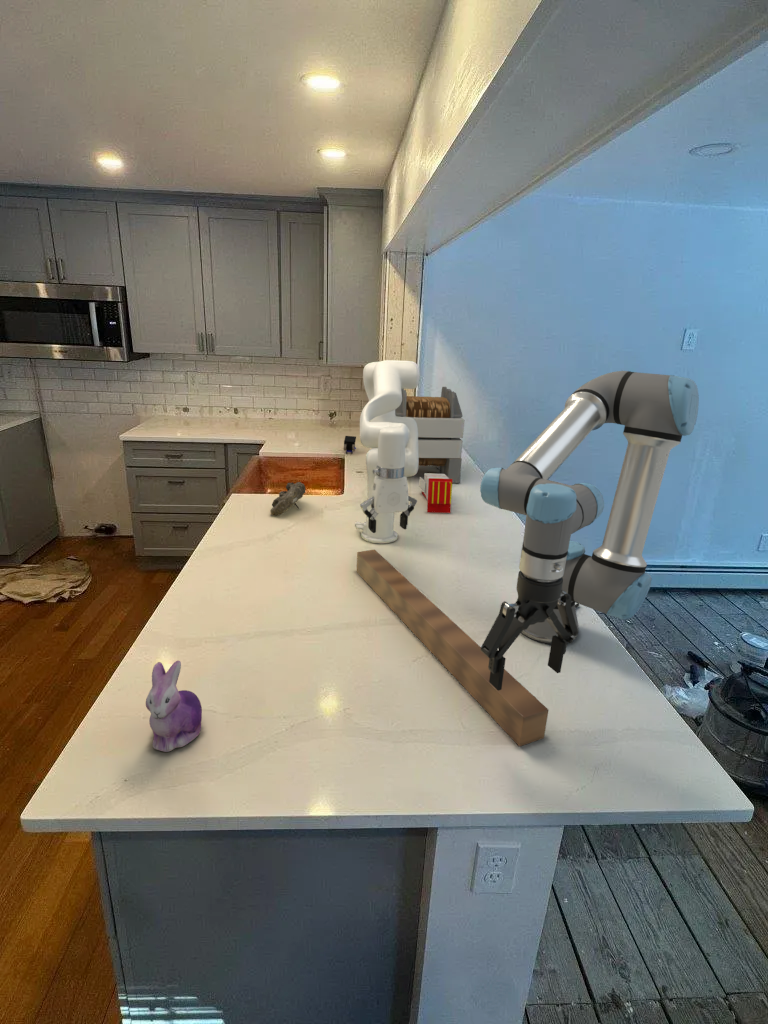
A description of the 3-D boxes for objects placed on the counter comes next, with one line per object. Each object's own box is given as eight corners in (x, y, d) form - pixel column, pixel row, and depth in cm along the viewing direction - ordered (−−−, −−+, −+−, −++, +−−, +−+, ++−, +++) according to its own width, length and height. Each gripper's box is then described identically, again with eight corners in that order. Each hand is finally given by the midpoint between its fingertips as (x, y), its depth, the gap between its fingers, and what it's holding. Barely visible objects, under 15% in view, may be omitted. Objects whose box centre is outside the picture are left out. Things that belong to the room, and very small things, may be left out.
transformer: (382, 463, 289) (386, 382, 275) (445, 464, 293) (451, 384, 279) (390, 482, 257) (394, 392, 243) (460, 483, 261) (468, 394, 247)
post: (356, 571, 170) (357, 552, 168) (373, 569, 172) (374, 549, 170) (519, 746, 104) (523, 717, 102) (543, 738, 107) (548, 709, 104)
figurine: (153, 762, 97) (144, 689, 92) (146, 724, 105) (138, 655, 100) (210, 745, 101) (204, 674, 96) (199, 710, 109) (193, 643, 104)
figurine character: (355, 457, 303) (356, 447, 317) (355, 444, 300) (356, 434, 313) (342, 457, 303) (344, 447, 316) (343, 443, 300) (344, 434, 313)
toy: (446, 469, 247) (456, 480, 217) (444, 499, 249) (454, 514, 220) (418, 468, 246) (425, 479, 217) (416, 499, 249) (423, 513, 219)
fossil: (276, 488, 229) (303, 468, 224) (291, 505, 232) (319, 486, 227) (260, 511, 209) (290, 490, 204) (277, 530, 212) (307, 510, 207)
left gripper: (367, 477, 151) (365, 537, 157) (424, 473, 158) (420, 530, 164) (356, 470, 158) (355, 528, 163) (412, 467, 165) (409, 522, 170)
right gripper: (494, 595, 89) (480, 706, 97) (610, 571, 100) (590, 673, 107) (468, 575, 96) (457, 680, 103) (580, 555, 106) (563, 652, 113)
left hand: (387, 529), depth 164 cm, fingers open, 9 cm apart
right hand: (525, 677), depth 105 cm, fingers open, 13 cm apart
